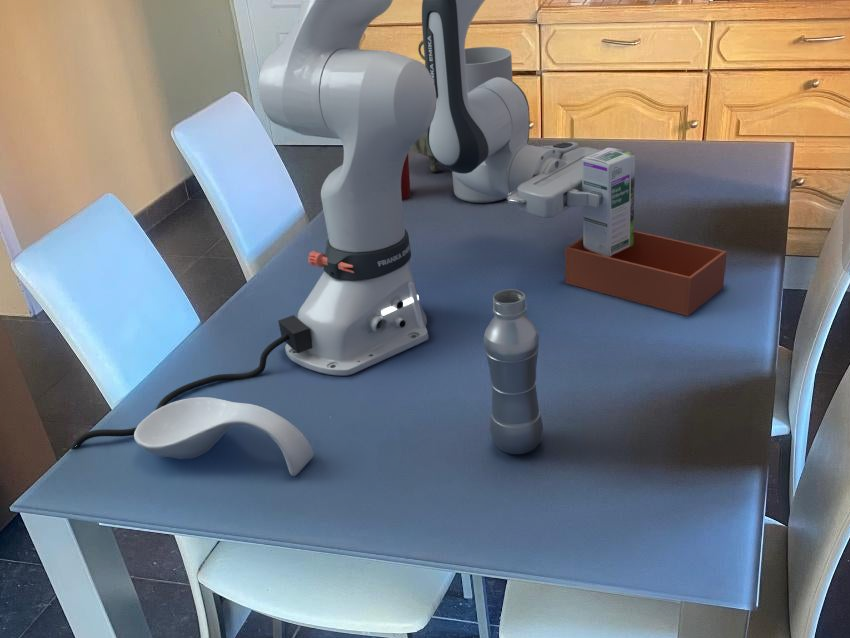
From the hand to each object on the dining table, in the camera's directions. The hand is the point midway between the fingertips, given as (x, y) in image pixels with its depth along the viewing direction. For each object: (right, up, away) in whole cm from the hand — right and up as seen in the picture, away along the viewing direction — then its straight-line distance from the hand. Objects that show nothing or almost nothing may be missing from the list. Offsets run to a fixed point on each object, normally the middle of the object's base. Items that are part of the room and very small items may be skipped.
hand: (613, 192), depth 141 cm
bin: (+6, -13, +5) cm, 15 cm away
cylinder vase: (-19, +14, +42) cm, 49 cm away
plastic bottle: (-16, -41, -26) cm, 51 cm away
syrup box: (0, -7, +6) cm, 9 cm away
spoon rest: (-53, -41, -23) cm, 71 cm away
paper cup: (-37, +14, +45) cm, 60 cm away
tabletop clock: (-28, +23, +55) cm, 66 cm away
